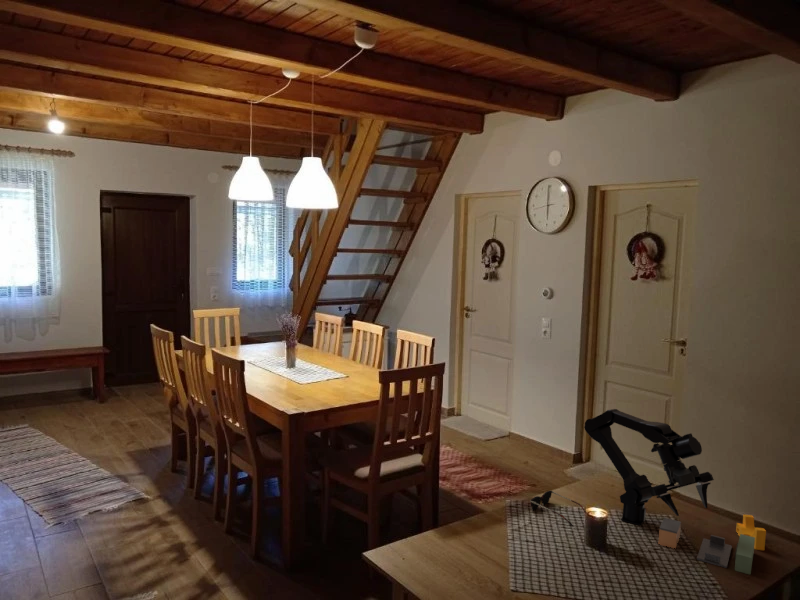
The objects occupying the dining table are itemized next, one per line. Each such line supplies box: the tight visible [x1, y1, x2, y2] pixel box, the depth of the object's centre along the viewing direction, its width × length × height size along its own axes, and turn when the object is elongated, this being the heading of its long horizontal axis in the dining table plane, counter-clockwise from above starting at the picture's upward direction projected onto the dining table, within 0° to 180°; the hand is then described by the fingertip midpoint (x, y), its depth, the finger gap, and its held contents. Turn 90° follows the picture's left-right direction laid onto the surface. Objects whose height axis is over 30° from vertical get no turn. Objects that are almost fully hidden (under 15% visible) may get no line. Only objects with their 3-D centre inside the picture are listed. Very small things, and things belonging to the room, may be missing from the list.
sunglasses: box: [530, 490, 586, 527], centre depth 212 cm, size 14×16×5 cm
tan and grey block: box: [657, 517, 682, 550], centre depth 195 cm, size 5×9×6 cm, turn 148°
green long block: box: [734, 534, 755, 576], centre depth 184 cm, size 4×16×5 cm, turn 147°
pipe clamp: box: [735, 513, 767, 551], centre depth 198 cm, size 12×4×6 cm, turn 169°
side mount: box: [696, 534, 733, 569], centre depth 188 cm, size 8×16×3 cm, turn 147°
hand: (692, 511), depth 192 cm, fingers open, 9 cm apart
